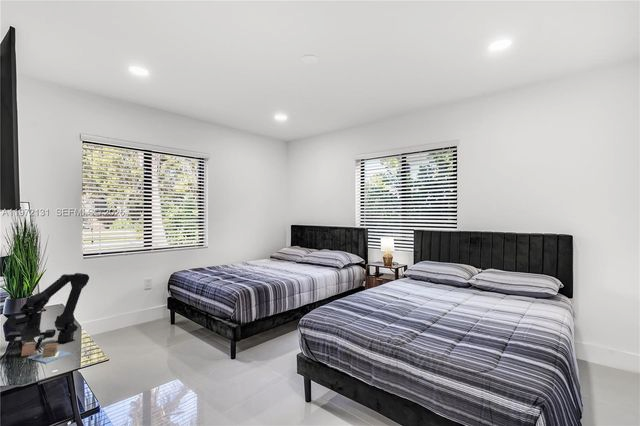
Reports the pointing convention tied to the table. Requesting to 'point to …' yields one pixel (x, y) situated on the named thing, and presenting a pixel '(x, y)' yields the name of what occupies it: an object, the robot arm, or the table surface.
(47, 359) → the board
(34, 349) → the terracotta block
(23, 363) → the table surface
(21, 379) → the table surface
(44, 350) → the walnut block
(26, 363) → the table surface
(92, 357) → the table surface
